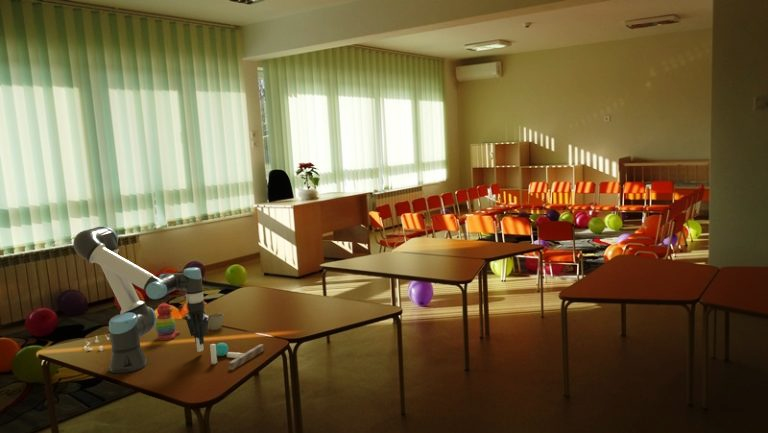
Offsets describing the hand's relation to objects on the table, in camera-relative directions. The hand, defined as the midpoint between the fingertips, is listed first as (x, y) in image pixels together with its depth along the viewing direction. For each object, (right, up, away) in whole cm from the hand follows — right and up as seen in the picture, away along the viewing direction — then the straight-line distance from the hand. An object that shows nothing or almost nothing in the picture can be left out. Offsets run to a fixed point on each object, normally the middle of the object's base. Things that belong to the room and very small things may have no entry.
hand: (200, 350), depth 271 cm
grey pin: (+10, -3, -12) cm, 16 cm away
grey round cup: (-5, +2, +40) cm, 40 cm away
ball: (+11, +1, -3) cm, 11 cm away
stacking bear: (-27, 0, +30) cm, 40 cm away
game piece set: (-56, -3, +24) cm, 61 cm away
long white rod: (+24, -2, -11) cm, 27 cm away
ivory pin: (+15, -1, -6) cm, 16 cm away
